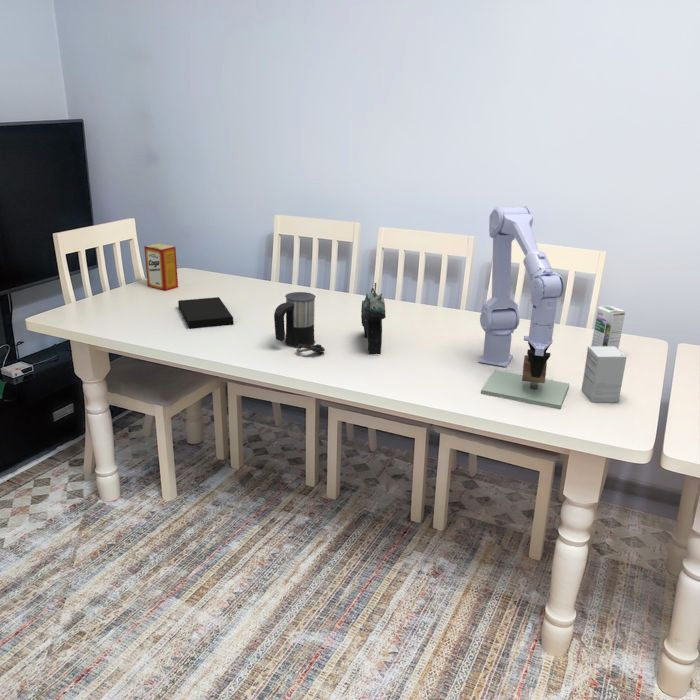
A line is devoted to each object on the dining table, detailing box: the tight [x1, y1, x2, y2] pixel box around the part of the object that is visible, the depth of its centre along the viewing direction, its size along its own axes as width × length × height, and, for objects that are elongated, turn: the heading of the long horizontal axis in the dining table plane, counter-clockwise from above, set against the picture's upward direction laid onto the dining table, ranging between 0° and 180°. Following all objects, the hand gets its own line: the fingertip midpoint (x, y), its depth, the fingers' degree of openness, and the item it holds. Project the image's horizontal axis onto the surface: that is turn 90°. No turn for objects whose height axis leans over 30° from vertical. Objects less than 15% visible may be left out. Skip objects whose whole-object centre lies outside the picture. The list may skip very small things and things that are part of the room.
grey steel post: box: [530, 382, 538, 390], centre depth 178 cm, size 2×2×5 cm
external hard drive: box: [177, 296, 235, 330], centre depth 230 cm, size 14×23×3 cm, turn 21°
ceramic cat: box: [360, 282, 387, 355], centre depth 205 cm, size 20×6×20 cm, turn 4°
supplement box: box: [581, 345, 627, 403], centre depth 175 cm, size 7×7×13 cm
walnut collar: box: [521, 354, 548, 383], centre depth 177 cm, size 6×6×5 cm
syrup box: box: [591, 305, 626, 350], centre depth 203 cm, size 6×6×14 cm
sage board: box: [480, 369, 570, 410], centre depth 180 cm, size 15×20×1 cm
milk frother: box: [273, 291, 325, 354], centre depth 203 cm, size 14×16×15 cm
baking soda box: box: [144, 242, 179, 292], centre depth 258 cm, size 10×6×16 cm
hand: (535, 372), depth 177 cm, fingers closed on walnut collar, 6 cm apart
